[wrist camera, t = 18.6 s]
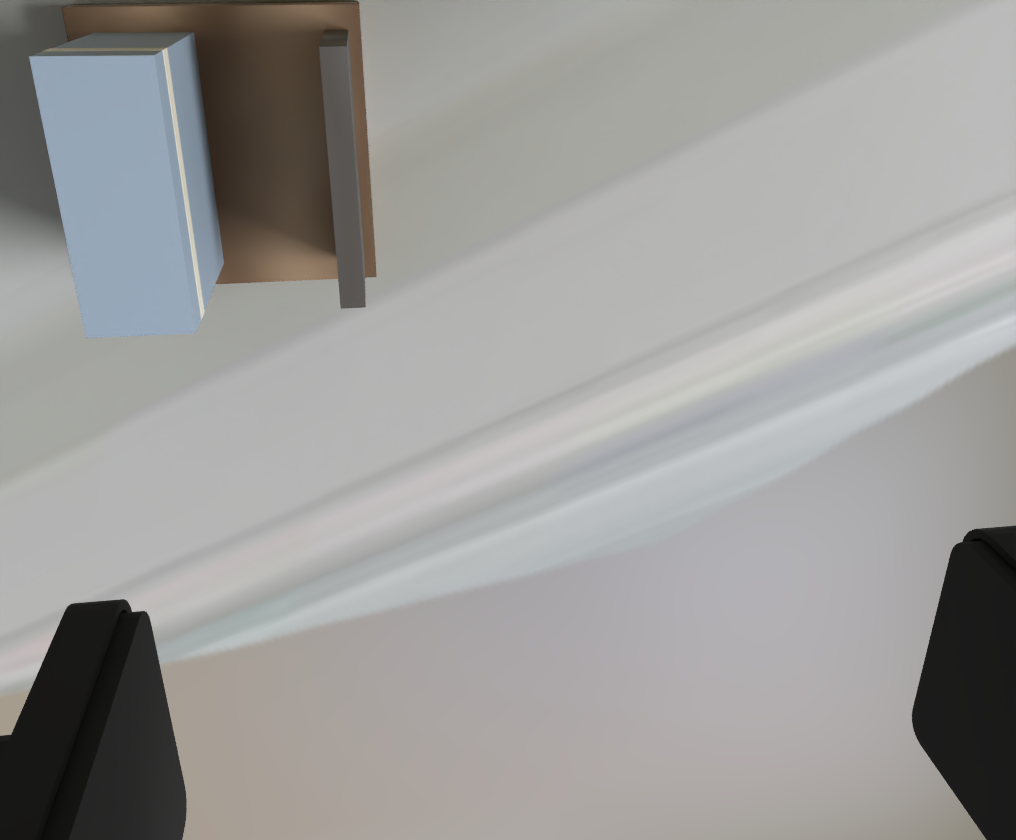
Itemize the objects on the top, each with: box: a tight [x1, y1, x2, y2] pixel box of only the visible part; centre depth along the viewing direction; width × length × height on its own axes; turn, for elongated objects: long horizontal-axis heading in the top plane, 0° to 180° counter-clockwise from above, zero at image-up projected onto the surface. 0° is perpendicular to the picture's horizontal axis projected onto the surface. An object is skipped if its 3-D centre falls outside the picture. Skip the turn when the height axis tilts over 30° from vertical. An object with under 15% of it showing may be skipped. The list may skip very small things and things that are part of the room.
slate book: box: [29, 32, 224, 338], centre depth 38 cm, size 4×10×9 cm, turn 0°
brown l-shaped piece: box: [62, 2, 376, 308], centre depth 41 cm, size 12×12×9 cm
